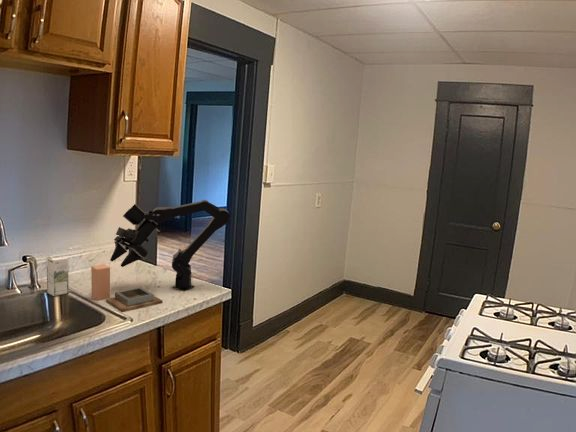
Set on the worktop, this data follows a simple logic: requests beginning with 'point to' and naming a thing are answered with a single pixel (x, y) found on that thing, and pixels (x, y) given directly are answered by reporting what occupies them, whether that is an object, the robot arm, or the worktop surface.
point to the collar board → (133, 299)
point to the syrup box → (57, 275)
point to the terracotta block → (100, 282)
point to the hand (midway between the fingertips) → (116, 263)
